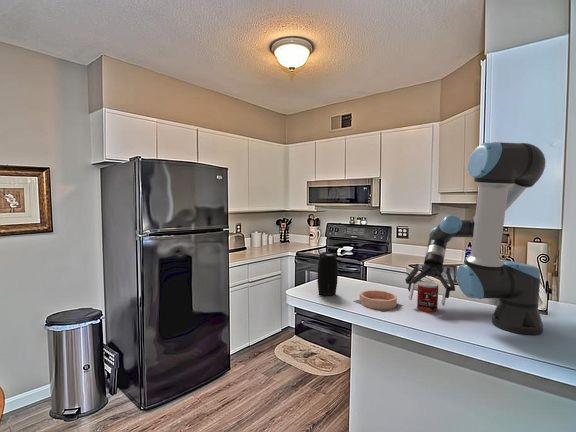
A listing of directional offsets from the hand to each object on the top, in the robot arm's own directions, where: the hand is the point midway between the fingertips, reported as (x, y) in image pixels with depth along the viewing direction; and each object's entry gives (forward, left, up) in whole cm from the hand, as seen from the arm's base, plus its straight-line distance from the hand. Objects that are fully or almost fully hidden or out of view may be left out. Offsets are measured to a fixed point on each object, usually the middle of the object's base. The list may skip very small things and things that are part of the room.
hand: (426, 301), depth 131 cm
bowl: (+17, +9, -4) cm, 19 cm away
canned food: (+1, -2, -5) cm, 5 cm away
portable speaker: (+39, +18, -5) cm, 43 cm away
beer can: (-13, -37, -5) cm, 40 cm away
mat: (+17, +9, -4) cm, 19 cm away
